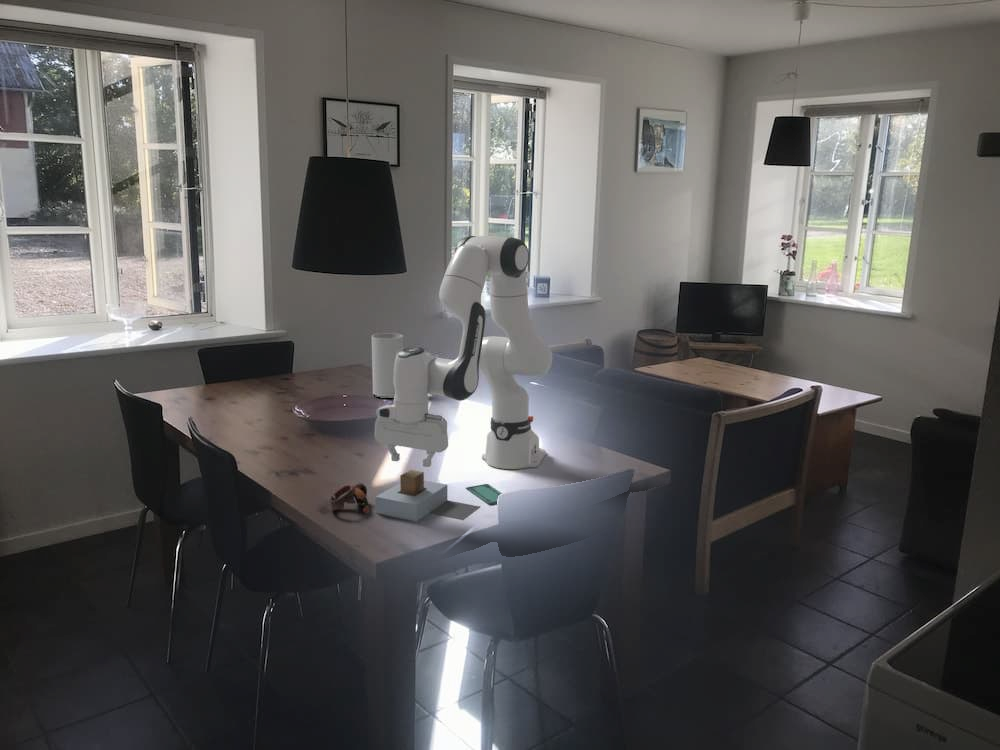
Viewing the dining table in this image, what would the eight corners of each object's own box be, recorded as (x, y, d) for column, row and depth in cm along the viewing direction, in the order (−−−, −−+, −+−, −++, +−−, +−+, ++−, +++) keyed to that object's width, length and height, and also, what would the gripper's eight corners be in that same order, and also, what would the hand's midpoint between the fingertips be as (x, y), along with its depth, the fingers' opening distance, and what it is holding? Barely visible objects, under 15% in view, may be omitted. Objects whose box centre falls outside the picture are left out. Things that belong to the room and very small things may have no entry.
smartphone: (490, 505, 209) (464, 486, 222) (490, 509, 210) (464, 491, 223) (514, 500, 213) (488, 482, 226) (514, 504, 213) (488, 487, 226)
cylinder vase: (370, 399, 322) (368, 338, 317) (376, 391, 334) (374, 333, 329) (401, 399, 322) (400, 338, 317) (405, 392, 334) (404, 333, 329)
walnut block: (411, 502, 212) (410, 469, 210) (424, 504, 210) (423, 472, 208) (400, 508, 207) (400, 475, 205) (414, 511, 205) (413, 477, 204)
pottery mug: (366, 522, 201) (348, 497, 198) (337, 533, 204) (319, 508, 202) (382, 495, 211) (366, 470, 208) (355, 505, 215) (338, 481, 212)
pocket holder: (409, 495, 218) (408, 477, 217) (447, 502, 213) (447, 484, 212) (376, 515, 204) (375, 496, 203) (416, 523, 199) (416, 504, 198)
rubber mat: (447, 502, 213) (447, 500, 213) (480, 508, 209) (480, 506, 209) (428, 515, 204) (428, 513, 204) (463, 522, 200) (463, 520, 200)
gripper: (453, 413, 201) (452, 466, 204) (384, 404, 210) (384, 454, 213) (440, 419, 196) (440, 473, 198) (370, 409, 204) (371, 460, 207)
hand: (411, 463), depth 206 cm, fingers open, 8 cm apart
